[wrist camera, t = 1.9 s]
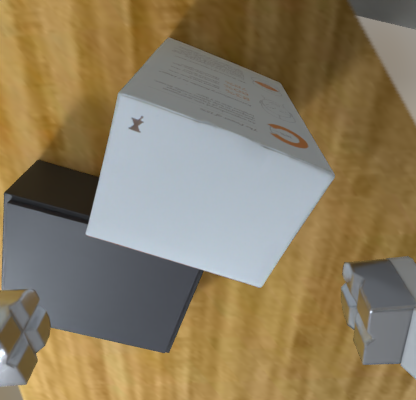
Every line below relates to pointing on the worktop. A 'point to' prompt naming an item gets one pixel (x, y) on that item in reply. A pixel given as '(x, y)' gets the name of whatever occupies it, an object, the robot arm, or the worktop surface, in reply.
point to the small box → (207, 166)
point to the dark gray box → (88, 265)
